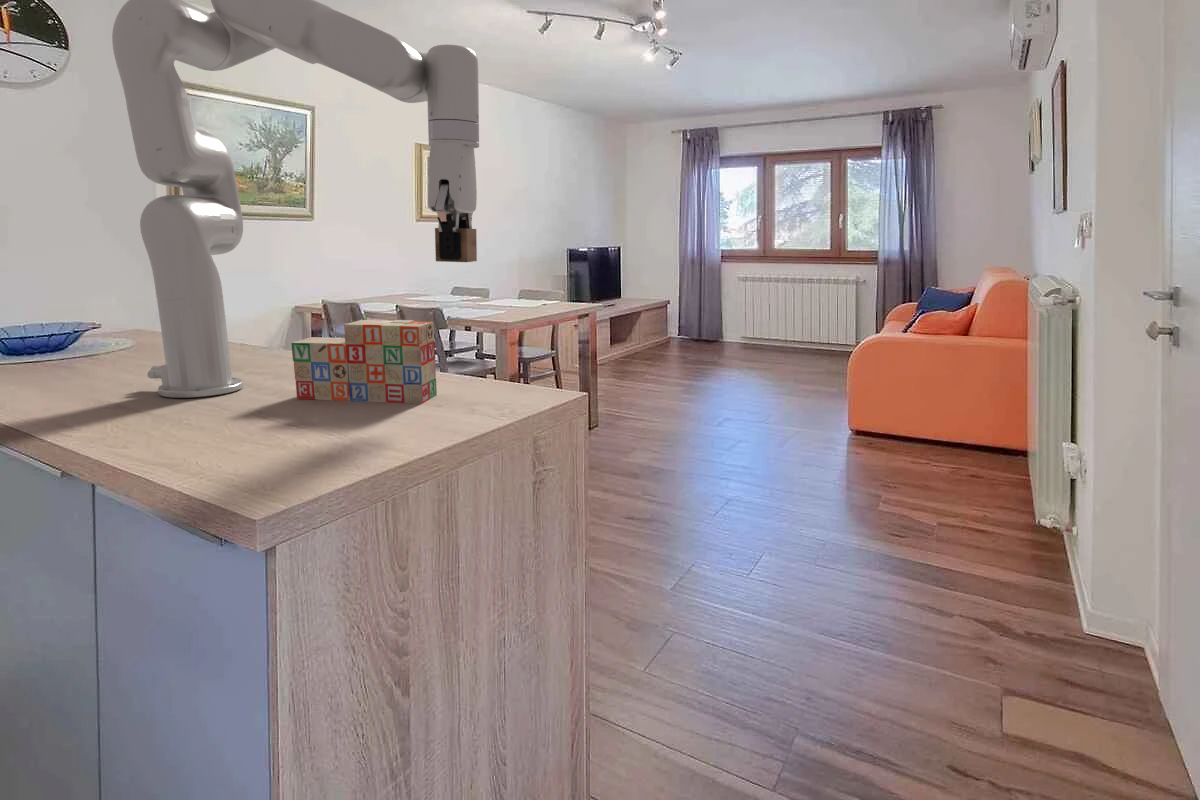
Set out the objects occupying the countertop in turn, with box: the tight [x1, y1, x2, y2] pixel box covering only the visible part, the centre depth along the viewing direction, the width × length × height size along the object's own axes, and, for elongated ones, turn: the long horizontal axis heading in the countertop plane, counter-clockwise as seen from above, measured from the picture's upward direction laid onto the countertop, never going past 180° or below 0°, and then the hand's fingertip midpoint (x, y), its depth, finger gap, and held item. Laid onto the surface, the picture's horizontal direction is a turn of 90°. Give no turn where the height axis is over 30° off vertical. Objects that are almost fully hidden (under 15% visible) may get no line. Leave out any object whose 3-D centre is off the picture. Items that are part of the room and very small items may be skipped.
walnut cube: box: [434, 227, 478, 263], centre depth 116 cm, size 5×5×5 cm
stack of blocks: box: [290, 319, 438, 404], centre depth 119 cm, size 21×6×12 cm, turn 81°
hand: (456, 257), depth 117 cm, fingers closed on walnut cube, 5 cm apart
